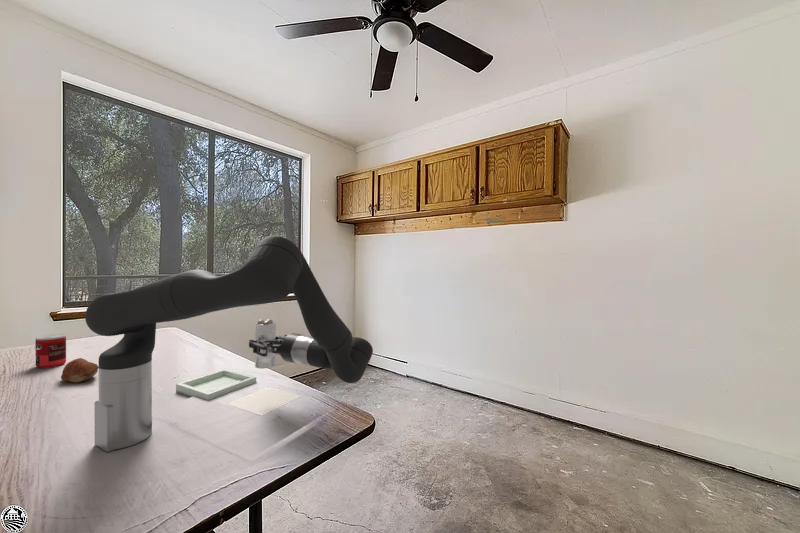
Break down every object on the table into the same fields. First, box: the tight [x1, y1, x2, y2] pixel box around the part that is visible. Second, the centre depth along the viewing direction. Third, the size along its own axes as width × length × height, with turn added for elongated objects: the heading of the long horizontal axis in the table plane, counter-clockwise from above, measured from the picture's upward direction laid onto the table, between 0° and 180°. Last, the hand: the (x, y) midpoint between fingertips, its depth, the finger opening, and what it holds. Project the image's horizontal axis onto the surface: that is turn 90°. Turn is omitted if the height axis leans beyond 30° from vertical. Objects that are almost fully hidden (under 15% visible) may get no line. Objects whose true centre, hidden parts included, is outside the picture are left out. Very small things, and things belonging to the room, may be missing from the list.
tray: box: [175, 368, 257, 401], centre depth 104 cm, size 16×16×2 cm
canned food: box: [34, 333, 67, 369], centre depth 123 cm, size 8×8×11 cm
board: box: [227, 386, 302, 417], centre depth 94 cm, size 14×14×1 cm
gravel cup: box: [254, 318, 277, 369], centre depth 93 cm, size 5×5×13 cm
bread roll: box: [60, 357, 99, 383], centre depth 110 cm, size 13×8×10 cm
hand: (259, 341), depth 94 cm, fingers closed on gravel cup, 5 cm apart
